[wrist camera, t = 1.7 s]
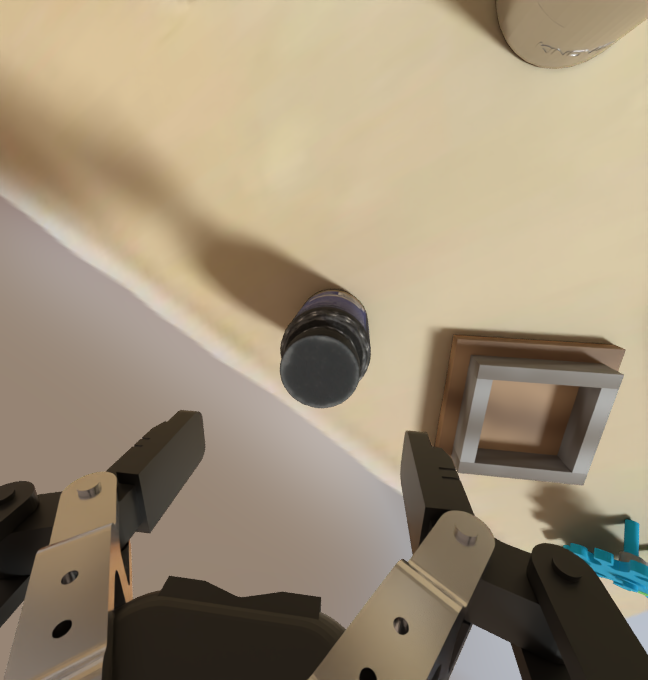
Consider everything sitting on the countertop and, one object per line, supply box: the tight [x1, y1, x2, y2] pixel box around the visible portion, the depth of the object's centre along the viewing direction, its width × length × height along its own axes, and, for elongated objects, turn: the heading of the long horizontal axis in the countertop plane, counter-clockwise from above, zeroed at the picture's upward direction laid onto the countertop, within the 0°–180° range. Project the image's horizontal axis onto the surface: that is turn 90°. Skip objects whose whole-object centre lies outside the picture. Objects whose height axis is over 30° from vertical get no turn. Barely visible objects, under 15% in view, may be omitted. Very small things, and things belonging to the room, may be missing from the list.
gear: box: [563, 519, 648, 598], centre depth 30 cm, size 11×6×10 cm
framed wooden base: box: [435, 335, 625, 485], centre depth 28 cm, size 13×13×3 cm
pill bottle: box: [280, 289, 371, 408], centre depth 23 cm, size 6×6×11 cm
